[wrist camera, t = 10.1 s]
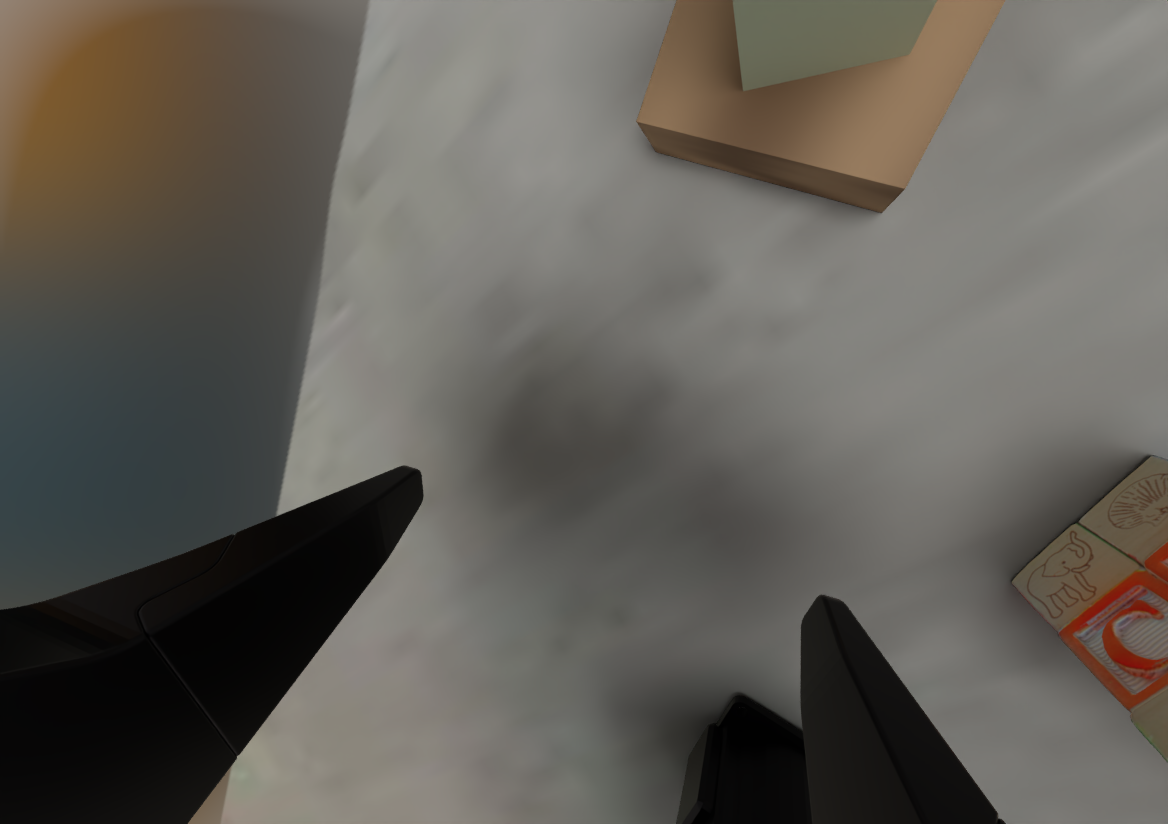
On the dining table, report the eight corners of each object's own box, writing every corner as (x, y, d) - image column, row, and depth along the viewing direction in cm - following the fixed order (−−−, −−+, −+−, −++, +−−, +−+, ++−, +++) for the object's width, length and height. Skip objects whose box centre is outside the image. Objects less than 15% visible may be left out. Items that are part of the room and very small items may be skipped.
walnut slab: (1045, -101, 13) (1119, -214, 10) (881, 212, 16) (905, 189, 13) (751, -120, 16) (747, -215, 13) (656, 152, 18) (636, 121, 16)
